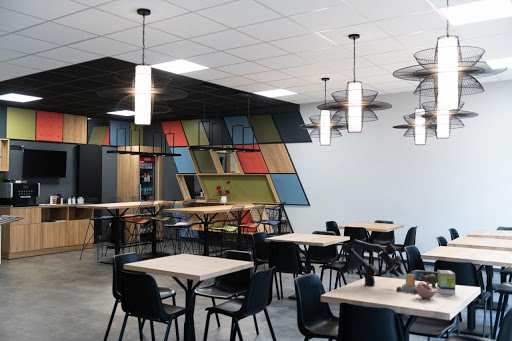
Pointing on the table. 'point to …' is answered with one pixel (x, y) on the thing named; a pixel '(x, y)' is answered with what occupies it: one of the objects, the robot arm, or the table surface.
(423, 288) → the mortar and pestle
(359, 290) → the table surface
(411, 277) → the orange block gray top
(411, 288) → the chassis
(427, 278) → the dinosaur figurine
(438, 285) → the tea box
